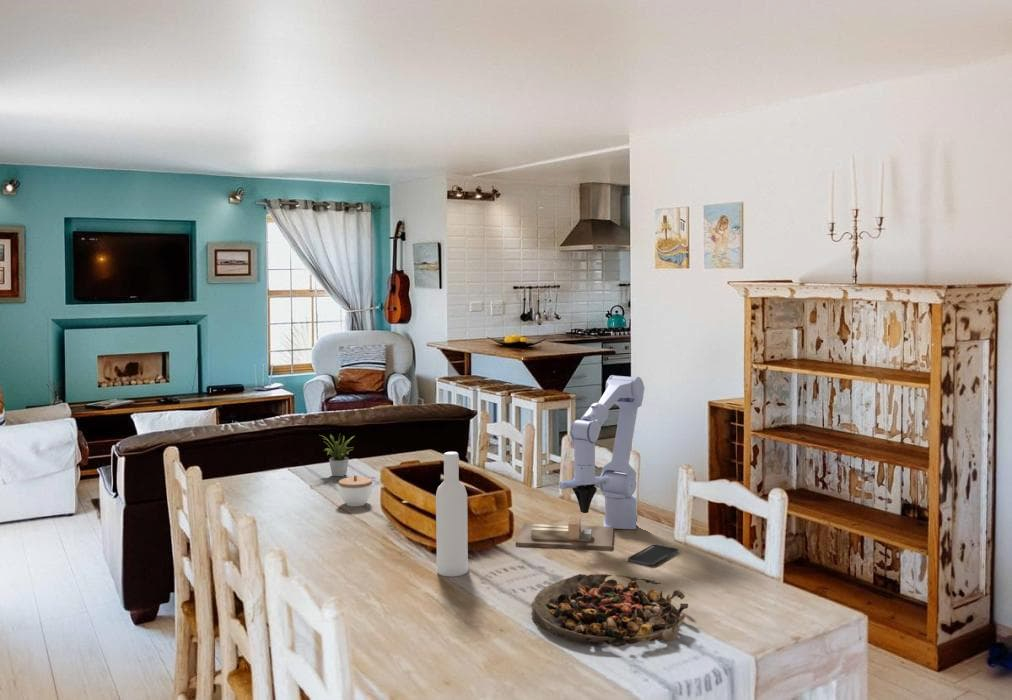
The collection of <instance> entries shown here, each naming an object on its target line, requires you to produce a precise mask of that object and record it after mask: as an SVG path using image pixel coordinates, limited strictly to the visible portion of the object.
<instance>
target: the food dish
mask: <svg viewBox="0 0 1012 700" xmlns="http://www.w3.org/2000/svg"><path fill="white" fill-rule="evenodd" d="M608 577H612V574H608V573H605V574H603V573H593V574H588V575H587V574H582V573H579V574H575V575H572V576H570V577H567V578H563V579H561V580H559V581H555V582H554V583H551V584H549V585H547V586H545V587H543V588H541V590H540V591H539V592H538V593H537V594H536V595H535V597H534V599H533V601H532V602H531V603H530V607H531V608H532V609H531V620H532V623H534V624H536V625H539V627H540V628H541V629H542V630H546V631H549V632H551V633H553V634H554V635H556V636H557V637H561V638H563V639H566V640H568V641H569V642H573V643H579V644H592V645H597V646H600V645H604V644H608V645H611V646H613V647H621V646H625V645H627V644H628V645H634V644H635V645H636V644H638V643H641V642H646V641H649V642H652V641H653V642H654V641H658V640H660V641H663V642H671V641H674V640H677V637H678V634H679V629H680V627H681V626H682V624H683V623H684V620H685V618H686V617H687V616H686V614H685V613H684V614H681V613H682V611H684V610H685V609H688V607H689V604H688V603H680V604H679V608H678V609H677V608H676V606H674V605H673V604H672V600H673V599H674V598H675V597H677V598H679V599H680V600H683V599H685V597H686V596H685V594H684V593H683V592H682V591H680V590H679V589H675V590H673V592H672V595H670V593H668V594H667V595H666V598H665V597H663V591H662V590H660V592H659V591H658V590H657V589H655V588H653V589H650V590H649V591H648V592H647V593H646V592H645V591H644V590H642V589H640V585H639V583H638V582H637V581H638V580H641V581H644V582H645V583H646V584H653V585H661V584H662V582H661V581H660V580H655V579H648V578H638V577H636V576H631V575H622V574H621V575H619V574H616V575H615V577H623V578H626V579H628V580H630V581H629V582H628V583H627V586H625V585H623V584H622V583H618V581H617V580H616V579H613V578H611V579H608V580H606V578H608Z"/></svg>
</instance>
